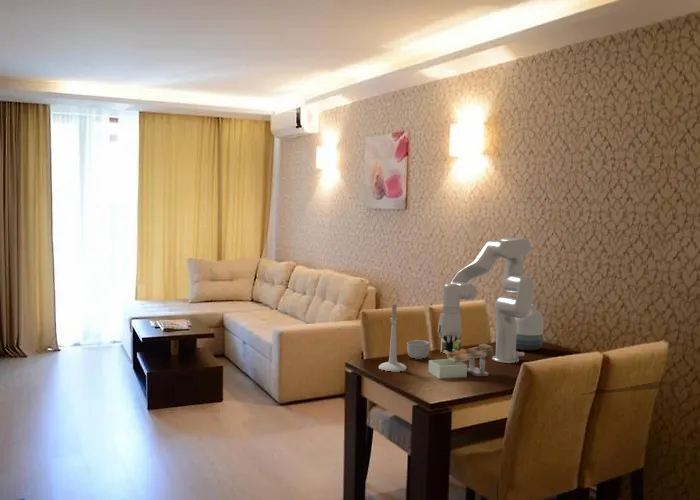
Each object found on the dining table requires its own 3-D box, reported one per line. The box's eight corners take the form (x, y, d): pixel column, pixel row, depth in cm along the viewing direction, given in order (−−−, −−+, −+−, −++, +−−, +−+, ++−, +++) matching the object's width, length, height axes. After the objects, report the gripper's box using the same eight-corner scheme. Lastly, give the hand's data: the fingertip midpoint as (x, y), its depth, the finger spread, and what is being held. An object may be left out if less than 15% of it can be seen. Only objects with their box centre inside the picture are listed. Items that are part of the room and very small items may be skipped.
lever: (476, 347, 275) (475, 339, 275) (493, 354, 261) (492, 346, 261) (439, 354, 270) (438, 347, 270) (454, 362, 255) (454, 355, 255)
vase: (504, 345, 322) (506, 302, 321) (534, 345, 324) (535, 302, 322) (516, 352, 305) (518, 306, 304) (547, 352, 307) (549, 306, 306)
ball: (457, 355, 262) (464, 355, 263) (460, 357, 258) (468, 357, 259) (457, 348, 261) (464, 347, 262) (461, 349, 258) (468, 349, 259)
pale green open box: (454, 370, 266) (455, 358, 266) (466, 377, 255) (467, 364, 255) (428, 372, 262) (428, 360, 262) (439, 379, 252) (439, 366, 251)
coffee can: (464, 354, 298) (465, 327, 298) (445, 355, 296) (446, 327, 295) (455, 350, 308) (456, 323, 308) (437, 350, 306) (438, 323, 305)
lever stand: (476, 369, 269) (476, 349, 269) (489, 375, 259) (489, 355, 258) (464, 370, 268) (465, 350, 267) (477, 376, 257) (477, 356, 256)
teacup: (427, 361, 282) (428, 345, 282) (405, 360, 285) (405, 343, 284) (429, 355, 296) (430, 339, 296) (408, 353, 298) (408, 338, 298)
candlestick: (411, 371, 264) (412, 304, 262) (384, 372, 260) (385, 305, 259) (400, 364, 276) (402, 300, 274) (374, 365, 272) (376, 301, 271)
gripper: (461, 309, 274) (459, 348, 275) (432, 309, 269) (430, 349, 270) (469, 311, 267) (467, 351, 267) (439, 312, 262) (437, 353, 263)
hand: (449, 350), depth 269 cm, fingers closed
